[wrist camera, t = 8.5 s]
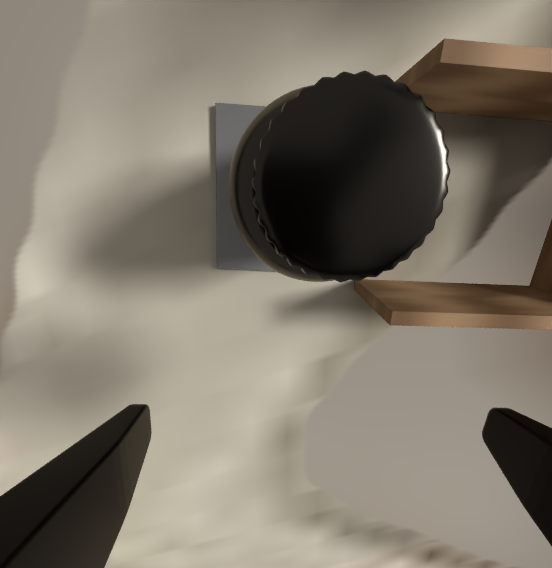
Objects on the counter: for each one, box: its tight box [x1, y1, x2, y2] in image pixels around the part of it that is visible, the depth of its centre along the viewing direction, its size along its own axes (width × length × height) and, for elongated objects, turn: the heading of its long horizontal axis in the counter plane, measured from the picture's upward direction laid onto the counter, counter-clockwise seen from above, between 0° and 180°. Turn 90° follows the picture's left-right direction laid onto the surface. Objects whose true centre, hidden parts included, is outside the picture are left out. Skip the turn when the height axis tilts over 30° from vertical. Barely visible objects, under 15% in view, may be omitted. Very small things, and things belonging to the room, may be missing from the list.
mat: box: [216, 103, 275, 271], centre depth 18 cm, size 10×10×1 cm
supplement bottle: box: [229, 71, 450, 282], centre depth 12 cm, size 7×7×12 cm
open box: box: [354, 39, 552, 330], centre depth 16 cm, size 14×13×6 cm
